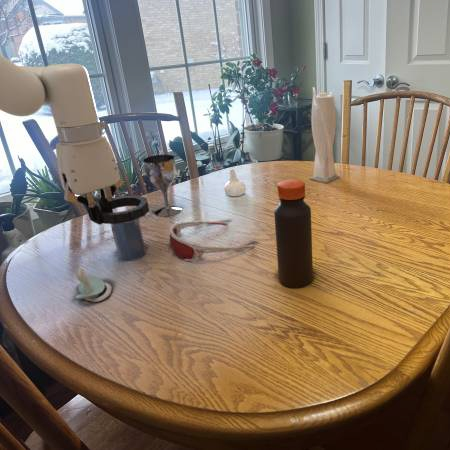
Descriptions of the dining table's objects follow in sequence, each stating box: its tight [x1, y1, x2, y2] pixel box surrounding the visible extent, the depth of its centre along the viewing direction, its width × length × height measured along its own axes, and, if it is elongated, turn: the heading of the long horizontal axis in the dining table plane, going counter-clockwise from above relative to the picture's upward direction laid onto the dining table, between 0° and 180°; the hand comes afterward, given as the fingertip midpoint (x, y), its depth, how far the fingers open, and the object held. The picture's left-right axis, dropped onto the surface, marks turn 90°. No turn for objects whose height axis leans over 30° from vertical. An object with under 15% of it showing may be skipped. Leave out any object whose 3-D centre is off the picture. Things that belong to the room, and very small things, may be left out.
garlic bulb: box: [224, 167, 247, 197], centre depth 129 cm, size 6×6×8 cm
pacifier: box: [75, 266, 113, 303], centre depth 83 cm, size 7×6×6 cm
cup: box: [110, 218, 147, 262], centre depth 97 cm, size 6×6×9 cm
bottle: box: [273, 178, 314, 289], centre depth 82 cm, size 7×7×20 cm
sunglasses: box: [168, 220, 256, 262], centre depth 101 cm, size 17×17×5 cm
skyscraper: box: [309, 86, 341, 184], centre depth 135 cm, size 8×8×28 cm
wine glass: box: [142, 154, 182, 218], centre depth 117 cm, size 8×8×15 cm
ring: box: [96, 195, 150, 225], centre depth 94 cm, size 11×11×2 cm
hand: (102, 220), depth 91 cm, fingers closed on ring, 1 cm apart
